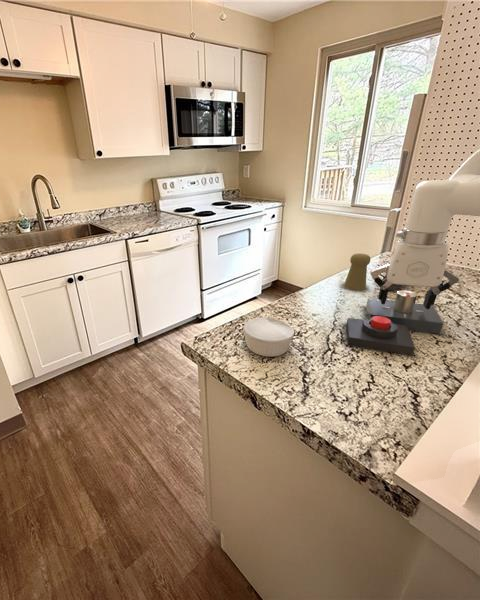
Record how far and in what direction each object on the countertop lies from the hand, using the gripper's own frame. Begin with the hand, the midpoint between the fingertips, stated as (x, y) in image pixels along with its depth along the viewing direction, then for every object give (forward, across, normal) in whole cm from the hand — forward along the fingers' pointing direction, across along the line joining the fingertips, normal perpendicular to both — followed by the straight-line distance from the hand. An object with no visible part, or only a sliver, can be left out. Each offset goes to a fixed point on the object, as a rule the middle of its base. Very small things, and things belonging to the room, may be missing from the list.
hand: (403, 304), depth 79 cm
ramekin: (+5, -29, -24) cm, 38 cm away
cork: (+5, -9, +20) cm, 22 cm away
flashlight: (+5, +4, +26) cm, 27 cm away
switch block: (+5, -6, -12) cm, 14 cm away
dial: (+2, 0, 0) cm, 2 cm away
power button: (+1, -6, -12) cm, 13 cm away
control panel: (+5, 0, 0) cm, 5 cm away
